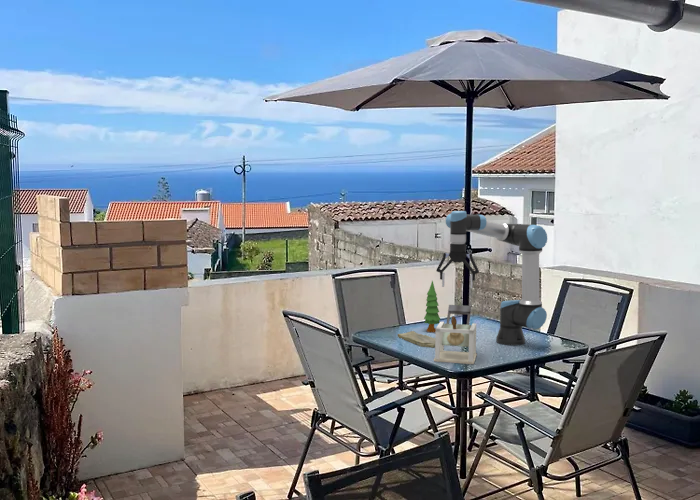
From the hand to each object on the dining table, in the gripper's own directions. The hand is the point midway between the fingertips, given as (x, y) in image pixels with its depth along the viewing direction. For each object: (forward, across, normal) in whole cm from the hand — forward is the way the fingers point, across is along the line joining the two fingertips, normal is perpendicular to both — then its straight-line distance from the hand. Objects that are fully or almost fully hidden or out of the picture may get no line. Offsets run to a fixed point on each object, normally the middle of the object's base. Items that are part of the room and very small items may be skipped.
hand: (457, 287), depth 332 cm
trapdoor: (+22, 0, -9) cm, 23 cm away
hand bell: (+26, 0, -1) cm, 26 cm away
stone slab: (+36, +23, -33) cm, 54 cm away
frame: (+36, 0, -2) cm, 36 cm away
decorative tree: (+36, +20, -61) cm, 74 cm away
